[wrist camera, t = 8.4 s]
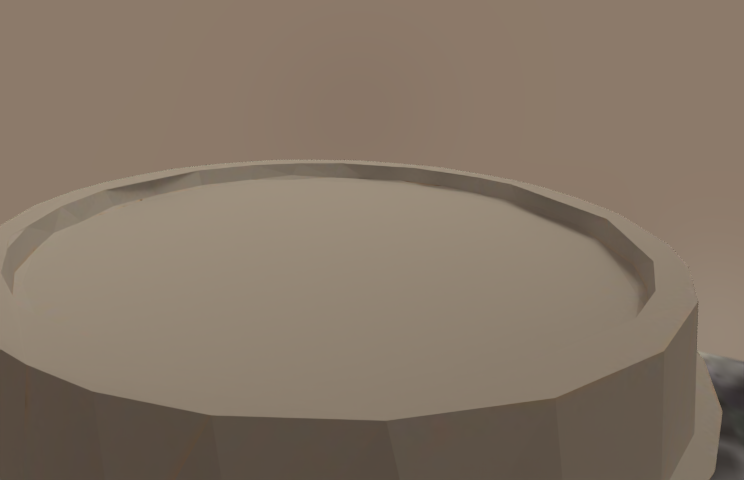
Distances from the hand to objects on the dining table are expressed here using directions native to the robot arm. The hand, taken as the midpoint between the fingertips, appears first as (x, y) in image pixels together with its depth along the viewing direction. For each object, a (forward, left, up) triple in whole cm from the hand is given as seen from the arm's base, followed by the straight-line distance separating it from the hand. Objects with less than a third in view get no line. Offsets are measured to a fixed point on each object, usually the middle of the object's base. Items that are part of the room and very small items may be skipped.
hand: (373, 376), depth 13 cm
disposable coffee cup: (-1, +5, -6) cm, 8 cm away
